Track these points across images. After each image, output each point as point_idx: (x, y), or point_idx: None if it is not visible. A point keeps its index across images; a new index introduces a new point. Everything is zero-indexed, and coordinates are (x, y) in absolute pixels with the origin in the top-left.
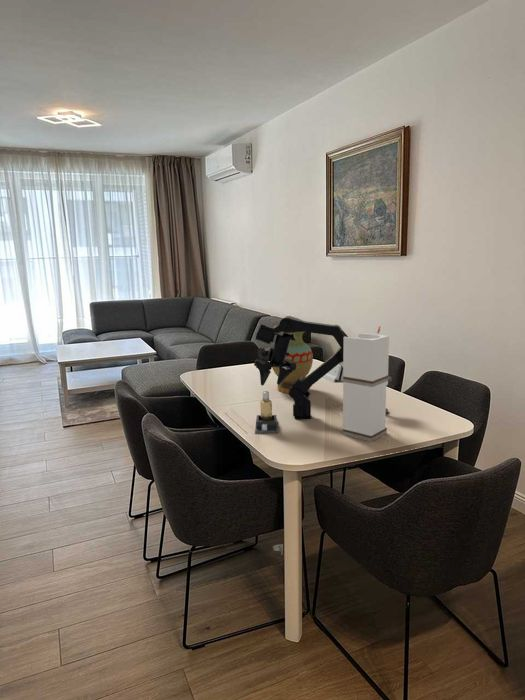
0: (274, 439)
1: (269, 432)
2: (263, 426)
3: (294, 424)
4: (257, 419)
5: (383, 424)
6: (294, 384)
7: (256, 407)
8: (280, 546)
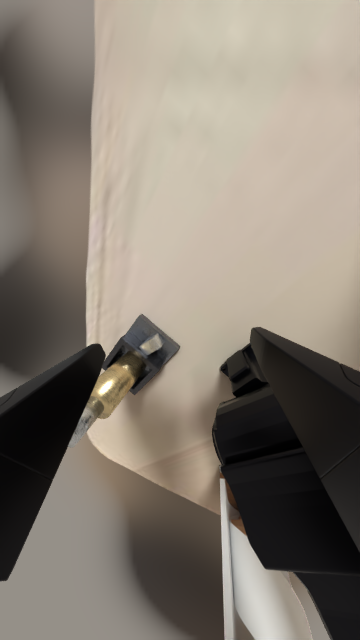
0: None
1: None
2: None
3: (193, 384)
4: (108, 359)
5: None
6: (234, 491)
7: (218, 196)
8: None
